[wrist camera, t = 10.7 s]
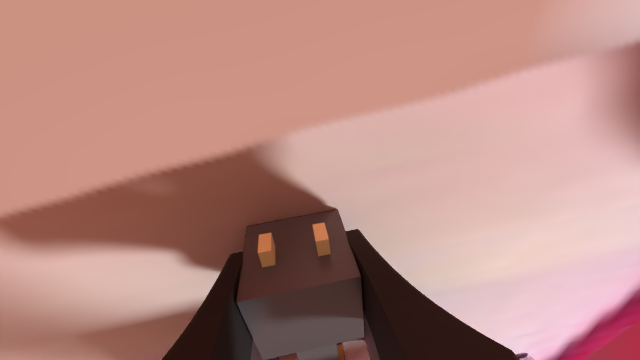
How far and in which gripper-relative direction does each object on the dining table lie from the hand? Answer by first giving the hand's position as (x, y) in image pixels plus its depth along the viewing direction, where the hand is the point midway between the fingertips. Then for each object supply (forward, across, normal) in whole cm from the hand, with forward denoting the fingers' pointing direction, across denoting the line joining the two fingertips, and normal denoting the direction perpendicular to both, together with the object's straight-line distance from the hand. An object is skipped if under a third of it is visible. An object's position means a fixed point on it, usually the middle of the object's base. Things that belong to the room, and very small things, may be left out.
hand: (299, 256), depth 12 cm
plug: (+1, 0, +6) cm, 6 cm away
